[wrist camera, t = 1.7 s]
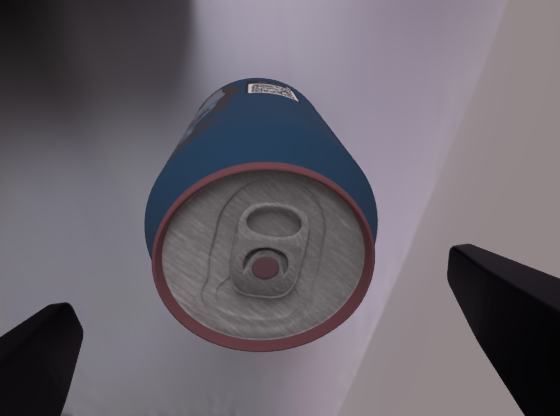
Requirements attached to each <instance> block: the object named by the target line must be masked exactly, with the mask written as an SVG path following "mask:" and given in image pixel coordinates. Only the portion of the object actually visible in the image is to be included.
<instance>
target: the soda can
mask: <svg viewBox="0 0 560 416" xmlns="http://www.w3.org/2000/svg"><path fill="white" fill-rule="evenodd" d="M377 225H378V218H377V208H376V202H375V198H374V195H373V192H372V189H371V186H370V184H369V182H368V180H367V178H366V176H365V175H364V173H363V171H362V170H361V168H360V167H359V166H358V164H357V163H356V162H355V160H354V159H353V158H352V156H351V155H350V154H349V152H348V151H347V150H346V149H345V147H344V146H343V145H342V143H341V142H340V141H339V139H338V138H337V137H336V135H335V134H334V133H333V132H332V130H331V129H330V128H329V126H328V125H327V124H326V122H325V121H324V120H323V118H322V117H321V116H320V115H319V113H318V112H317V111H316V109H315V108H314V107H313V105H312V104H311V103H310V102H309V101H308V100H307V98H306V97H304V96H303V95H302V94H301V93H300V92H298V91H297V90H296V89H294V88H292V87H291V86H289V85H287V84H284V83H282V82H279V81H276V80H271V79H265V78H249V79H243V80H239V81H235V82H233V83H230V84H228V85H226V86H224V87H222V88H220V89H219V90H217V91H216V92H215V93H213V94H212V95H211V96H210V97H209V98H208V99H207V100H206V101H205V102H204V103H203V105H202V106H201V108H200V109H199V111H198V112H197V114H196V116H195V117H194V119H193V121H192V122H191V124H190V126H189V127H188V129H187V130H186V132H185V134H184V135H183V137H182V139H181V140H180V142H179V144H178V145H177V147H176V148H175V150H174V152H173V153H172V155H171V157H170V158H169V160H168V162H167V163H166V165H165V167H164V168H163V170H162V171H161V173H160V175H159V176H158V178H157V180H156V182H155V184H154V186H153V188H152V190H151V193H150V195H149V199H148V202H147V206H146V212H145V238H146V244H147V248H148V251H149V255H150V257H151V260H152V273H153V278H154V282H155V285H156V288H157V291H158V293H159V295H160V297H161V299H162V301H163V303H164V304H165V306H166V307H167V309H168V310H169V311H170V313H171V314H172V315H173V316H174V317H175V318H176V319H177V320H178V321H179V322H180V323H181V324H182V325H183V326H184V327H186V328H187V329H188V330H190V331H191V332H192V333H194V334H196V335H197V336H199V337H201V338H203V339H205V340H207V341H209V342H211V343H214V344H217V345H219V346H223V347H226V348H230V349H234V350H240V351H249V352H271V351H280V350H286V349H290V348H294V347H298V346H301V345H304V344H307V343H309V342H312V341H314V340H316V339H318V338H320V337H322V336H324V335H326V334H327V333H329V332H331V331H332V330H334V329H335V328H337V327H338V326H339V325H341V324H342V323H343V322H344V321H345V320H347V319H348V318H349V317H350V316H351V315H352V314H353V312H354V311H355V310H356V309H357V308H358V306H359V305H360V303H361V302H362V300H363V298H364V297H365V294H366V292H367V290H368V288H369V285H370V282H371V279H372V276H373V271H374V264H375V241H376V236H377Z"/></svg>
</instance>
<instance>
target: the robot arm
mask: <svg viewBox="0 0 560 416" xmlns="http://www.w3.org/2000/svg"><path fill="white" fill-rule="evenodd" d="M447 278H448V282H449V285H450V287H451V289H452V291H453V293H454V295H455V297H456V299H457V301H458V303H459V305H460V307H461V309H462V311H463V313H464V315H465V318H466V320H467V322H468V324H469V326H470V328H471V330H472V332H473V334H474V335H475V337H476V339H477V341H478V342H479V344H480V346H481V348H482V349H483V351H484V352H485V354H486V356H487V357H488V359H489V360H490V362H491V363H492V365H493V367H494V368H495V370H496V371H497V373H498V374H499V376H500V378H501V379H502V381H503V382H504V384H505V385H506V387H507V388H508V390H509V391H510V393H511V395H512V396H513V398H514V400H515V401H516V403H517V404H518V406H519V407H520V409H521V410H522V412H523V413H524V415H525V416H560V279H559V278H557V277H554V276H552V275H549V274H546V273H544V272H541V271H539V270H536V269H534V268H531V267H528V266H526V265H523V264H521V263H518V262H515V261H513V260H510V259H508V258H505V257H503V256H500V255H497V254H495V253H492V252H490V251H487V250H484V249H482V248H479V247H477V246H474V245H472V244H462V245H456V246H453V247H452V248H450V251H449V260H448V270H447ZM82 340H83V329H82V326H81V324H80V322H79V320H78V318H77V316H76V313H75V311H74V309H73V307H72V306H71V305H70V304H69V303H67V302H64V303H57V304H51V305H48V306H46V307H45V308H43V309H42V310H40V311H39V312H37V313H36V314H34V315H33V316H31V317H30V318H28V319H27V320H25V321H24V322H22V323H21V324H19V325H18V326H16V327H15V328H13V329H12V330H10V331H9V332H7V333H6V334H4V335H3V336H1V337H0V416H61V413H62V410H63V407H64V405H65V402H66V398H67V395H68V392H69V388H70V385H71V381H72V377H73V374H74V370H75V366H76V363H77V359H78V355H79V351H80V348H81V344H82Z"/></svg>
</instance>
